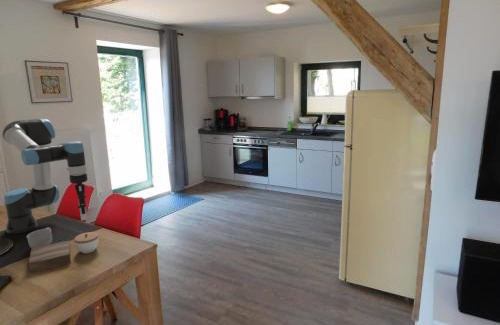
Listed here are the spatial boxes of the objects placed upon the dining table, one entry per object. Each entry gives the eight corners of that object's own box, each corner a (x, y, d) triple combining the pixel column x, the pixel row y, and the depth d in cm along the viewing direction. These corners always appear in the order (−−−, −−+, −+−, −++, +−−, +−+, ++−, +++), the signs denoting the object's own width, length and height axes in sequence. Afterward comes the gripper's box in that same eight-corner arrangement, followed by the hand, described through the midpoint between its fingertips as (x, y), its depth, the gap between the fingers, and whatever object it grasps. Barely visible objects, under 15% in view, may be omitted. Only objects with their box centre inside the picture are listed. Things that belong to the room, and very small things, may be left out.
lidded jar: (104, 249, 165) (101, 232, 163) (83, 258, 156) (81, 240, 154) (92, 243, 171) (90, 227, 168) (72, 252, 162) (69, 234, 160)
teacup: (41, 252, 161) (39, 238, 159) (23, 250, 163) (20, 236, 162) (62, 240, 174) (60, 226, 173) (45, 238, 177) (43, 225, 175)
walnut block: (33, 257, 158) (31, 248, 157) (70, 249, 165) (68, 240, 164) (30, 273, 144) (28, 263, 143) (70, 263, 152) (69, 254, 151)
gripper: (68, 169, 163) (74, 208, 168) (69, 181, 142) (75, 225, 146) (85, 167, 166) (90, 206, 171) (88, 178, 145) (94, 222, 150)
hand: (83, 215), depth 159 cm, fingers open, 13 cm apart
